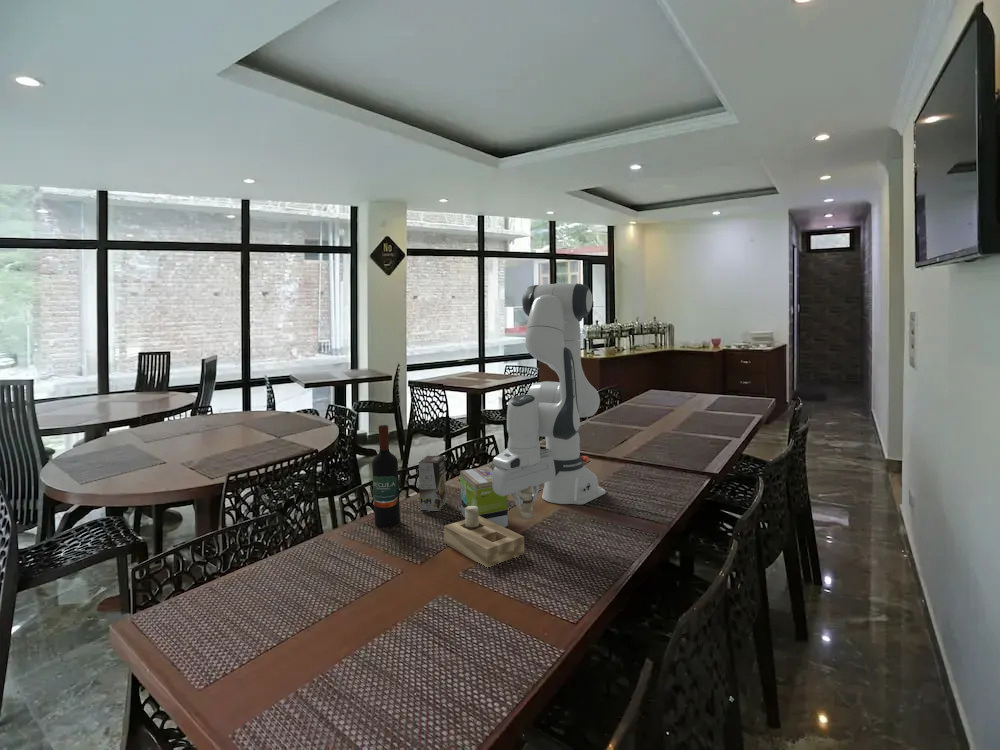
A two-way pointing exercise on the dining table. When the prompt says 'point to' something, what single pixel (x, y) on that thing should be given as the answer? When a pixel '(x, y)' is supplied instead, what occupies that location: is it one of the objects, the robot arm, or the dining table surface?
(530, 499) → the birch peg
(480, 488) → the tea box
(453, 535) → the wooden peg holder
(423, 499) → the coffee box
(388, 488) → the wine bottle
